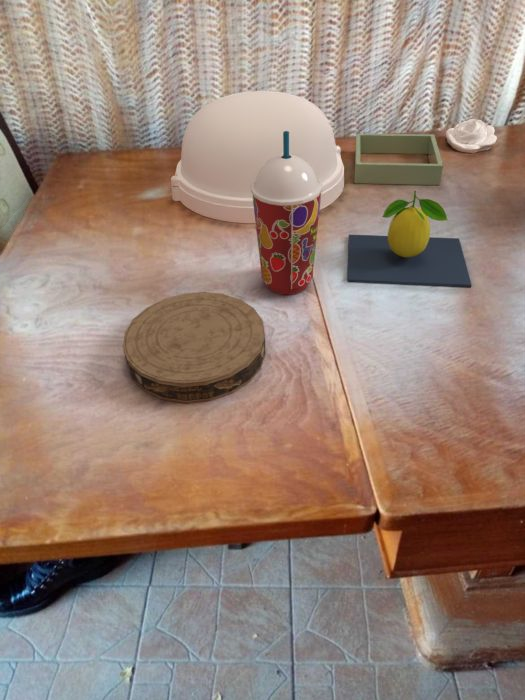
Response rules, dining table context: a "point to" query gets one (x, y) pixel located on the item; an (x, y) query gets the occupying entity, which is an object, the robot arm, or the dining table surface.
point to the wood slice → (195, 347)
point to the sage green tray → (398, 171)
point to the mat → (407, 263)
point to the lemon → (411, 225)
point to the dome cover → (251, 151)
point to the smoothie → (286, 220)
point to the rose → (471, 136)
